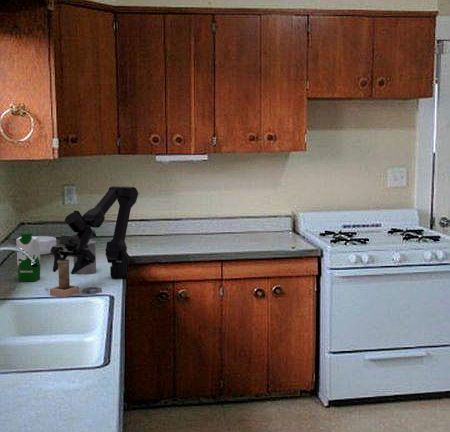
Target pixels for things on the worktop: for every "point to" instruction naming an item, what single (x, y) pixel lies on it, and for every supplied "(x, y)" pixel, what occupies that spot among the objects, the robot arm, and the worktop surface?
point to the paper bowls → (46, 244)
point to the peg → (63, 274)
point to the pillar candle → (92, 267)
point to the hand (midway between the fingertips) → (62, 272)
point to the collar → (64, 291)
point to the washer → (97, 289)
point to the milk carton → (23, 262)
